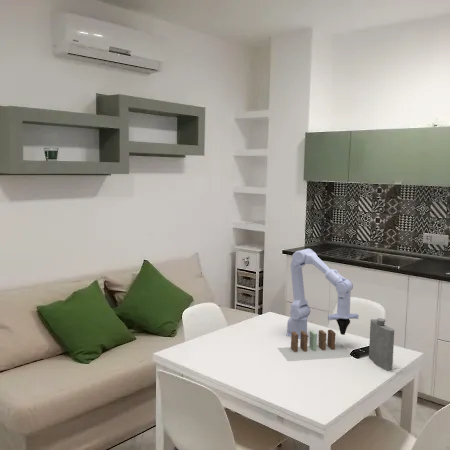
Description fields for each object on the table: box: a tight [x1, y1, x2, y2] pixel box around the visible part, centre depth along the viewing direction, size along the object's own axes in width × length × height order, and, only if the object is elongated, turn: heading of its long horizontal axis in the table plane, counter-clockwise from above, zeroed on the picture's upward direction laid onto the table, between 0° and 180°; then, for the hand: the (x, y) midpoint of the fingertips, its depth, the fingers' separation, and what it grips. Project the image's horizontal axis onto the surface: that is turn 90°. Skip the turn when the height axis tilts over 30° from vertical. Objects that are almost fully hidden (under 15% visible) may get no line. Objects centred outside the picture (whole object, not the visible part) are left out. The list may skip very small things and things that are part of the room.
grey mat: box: [277, 343, 353, 362], centre depth 233 cm, size 32×16×1 cm, turn 101°
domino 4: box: [326, 329, 336, 350], centre depth 238 cm, size 2×5×8 cm, turn 11°
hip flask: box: [368, 317, 395, 372], centre depth 220 cm, size 16×4×20 cm, turn 14°
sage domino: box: [308, 330, 318, 351], centre depth 236 cm, size 2×5×8 cm, turn 10°
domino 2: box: [299, 331, 309, 352], centre depth 235 cm, size 2×5×8 cm, turn 12°
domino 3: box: [317, 329, 327, 351], centre depth 237 cm, size 2×5×8 cm, turn 11°
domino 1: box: [290, 332, 299, 352], centre depth 235 cm, size 2×5×8 cm, turn 11°
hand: (342, 334), depth 239 cm, fingers closed
